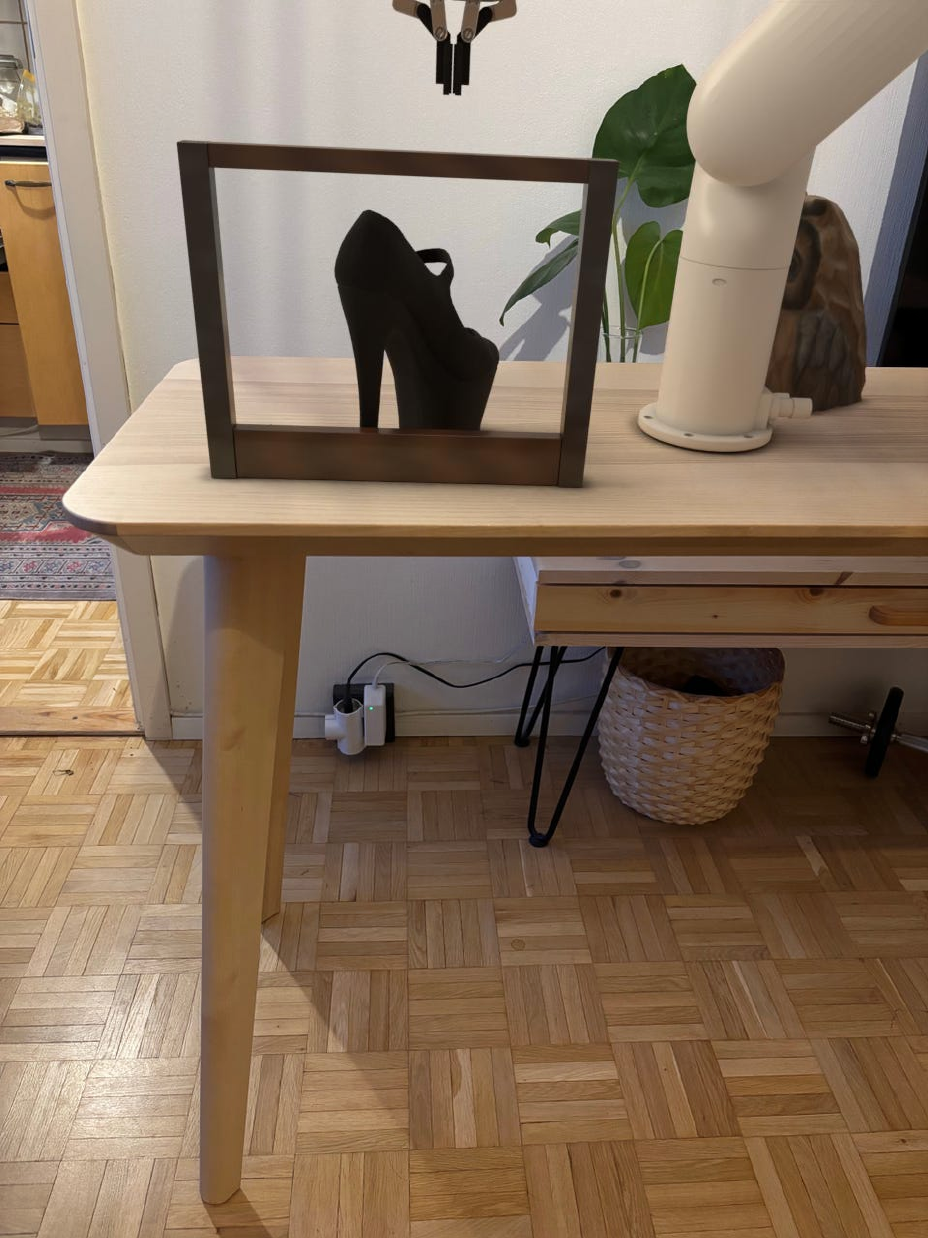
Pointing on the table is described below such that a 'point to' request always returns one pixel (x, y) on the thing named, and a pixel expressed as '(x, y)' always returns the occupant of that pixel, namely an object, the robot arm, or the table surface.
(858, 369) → the owl
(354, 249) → the high-heeled shoe
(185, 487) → the table surface
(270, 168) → the wooden picture frame
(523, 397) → the table surface
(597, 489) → the table surface
